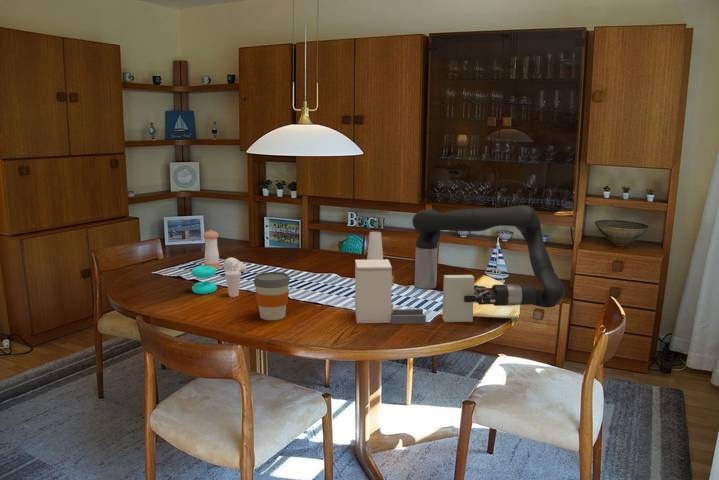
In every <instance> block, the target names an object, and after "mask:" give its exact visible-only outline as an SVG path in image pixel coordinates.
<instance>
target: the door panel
mask: <svg viewBox="0 0 719 480" xmlns="http://www.w3.org/2000/svg"><path fill="white" fill-rule="evenodd" d="M474 285H475V277H474V275H473V274H446V275H445V274H444V275H443V286H442V287H443V290H442V293H443V295H442V317H441V318H442V321H443V322H444V323H457V322H459V323H463V322H468V323H469V322H470V323H473V318H474V316H473V315H474V302H464V296H474V292H475V291H474Z"/></svg>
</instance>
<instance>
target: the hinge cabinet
mask: <svg viewBox="0 0 719 480" xmlns="http://www.w3.org/2000/svg"><path fill="white" fill-rule="evenodd" d="M354 263H355V266H354V267H355V270H354V275H355V279H354V283H355V284H354V287H355V289H354V291H355V293H354V297H355V298H354V310H355V311H354V312H355V313H354V314H355V321H356V324H377V323H378V324H382V323H384V324H385V323H387V324H388V323H389V324H391V325H426V324H427V314H424V310H423V308H405V309H403V308H402V309H401V308H399V309H397V308H396V309H394V304H393V303H392V286H394V275H393V274H392V273H393V267H392V265H391V262H390V261H389V259H388V258H387V259H384V258H383V260H368V259H355V262H354Z"/></svg>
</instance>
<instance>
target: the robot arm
mask: <svg viewBox="0 0 719 480" xmlns="http://www.w3.org/2000/svg"><path fill="white" fill-rule="evenodd" d="M412 225H413V227H414V229H415V230H417V231H418V232H419V235H418V237H417V239H416V240H415V265H414V271H415V273H414V288H415V287H416V288H418V289H424V290H428V289H429V290H431V289H435V288H437V278H438V276H437V274H438V245H439V241H440V237H441V236H440V235H441V231H452V232H484V231H487V230H490V229H493V228H494V227H499V226H500V227H501V226H502V227H503V226H505V227H515V228H516V229H517V230H518V231H520V233H521V235H522V237H523V239H524V241H525V243H526V246H527V250H528V255H529V256H528V257H529V261H530V265H531V268H532V271H533V275H534V277H535V279H536V280H537V282H539V283H542V285H543V288H542V289H537V288H536V286H534V285H531V284H493V285H492V286H491V289H488V288H487V287H486V286H484V287H474V296H464V302H473V303H475V304H478V305H479V306H481V305H484V306H485V305H493V306H495V307H497V306H500V307H505V306H507V307H513V306H521V305H522V306H527V305H532V306H535V307H538V308H539V307H541V308H554V307H555V306H557V305H558V304H559V303H560V302H561V301H562V299H563V298H564V296H565V291H566V290H565V286H564V284H563V282H562V280H561V279H560V277H559V276H558V275H557V273H556V272H555V269H554V266H553V264H552V260H551V258H550V255H549V252H548V250H547V247H546V245H545V242H544V241H545V240H544V238H543V234H542V233H543V232H542V227H541V220H540V216H539V214H538V213H537V211H535V209H534V208H533V207H532V206H530V205H525V204H524V205H514V206H505V207H487V208H481V207H477V208H461V209H455V210H451V211H450V210H449V211H445V212H444V211H443V212H438V210H435V209H433V208H428V209H423V210H420V211H418V212H416V213H415V215H414V216H413V217H412Z"/></svg>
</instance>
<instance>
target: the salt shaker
mask: <svg viewBox="0 0 719 480" xmlns="http://www.w3.org/2000/svg"><path fill="white" fill-rule="evenodd" d="M202 237H203V239H204V243H205V248H204V263H203V264H204V265H203V266H211V267H214V268H215V269H219V268H220V269H221V262H220V254H219V253H220V252H219V249H218V238H219V233H218V232H217V231H215V230H213V229H209V230H207V231H204V232H203V235H202ZM220 269H219V270H220Z"/></svg>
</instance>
